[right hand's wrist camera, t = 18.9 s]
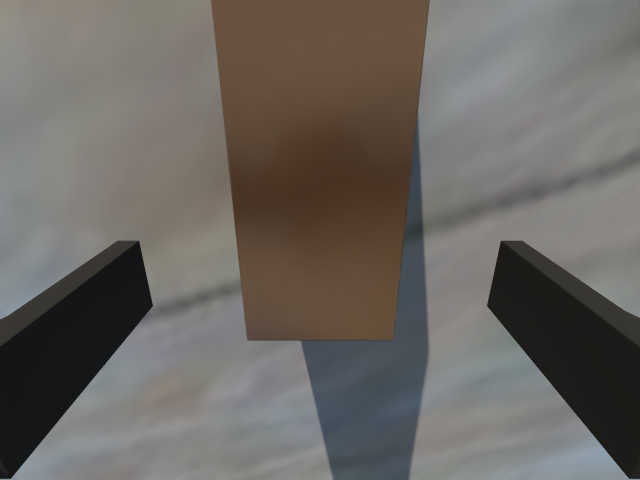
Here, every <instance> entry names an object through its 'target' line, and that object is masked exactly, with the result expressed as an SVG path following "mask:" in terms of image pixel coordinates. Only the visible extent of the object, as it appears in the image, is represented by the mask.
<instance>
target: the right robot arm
mask: <svg viewBox="0 0 640 480" xmlns="http://www.w3.org/2000/svg"><path fill="white" fill-rule="evenodd" d="M152 306H153V304H152V299H151V295H150V290H149V285H148V281H147V276H146V271H145V267H144V262H143V257H142V253H141V248H140V243H139V241H117V242H115V243H114V244H112V245H111V246H110V247H108V248H107V249H105V250H104V251H102V252H101V253H99V254H98V255H96V256H95V257H93V258H92V259H91V260H89V261H88V262H86V263H85V264H83V265H82V266H80V267H79V268H77V269H76V270H74V271H73V272H72V273H70V274H69V275H67V276H66V277H64V278H63V279H61V280H60V281H58V282H57V283H55V284H54V285H52V286H51V287H50V288H48V289H47V290H45V291H44V292H42V293H41V294H39V295H38V296H36V297H35V298H33V299H32V300H31V301H29V302H28V303H26V304H25V305H23V306H22V307H20V308H19V309H17V310H16V311H14V312H13V313H12V314H10V315H9V316H7V317H5V318H2V319H0V479H11V478H12V477H13V475H14V474H15V473H16V472H17V471H18V469H19V468H20V467H21V466H22V464H23V463H24V462H25V461H26V460H27V458H28V457H29V456H30V455H31V454H32V452H33V451H34V450H35V449H36V447H37V446H38V445H39V444H40V443H41V441H42V440H43V439H44V438H45V436H46V435H47V434H48V433H49V432H50V430H51V429H52V428H53V427H54V426H55V424H56V423H57V422H58V421H59V419H60V418H61V417H62V416H63V415H64V413H65V412H66V411H67V410H68V409H69V407H70V406H71V405H72V404H73V402H74V401H75V400H76V399H77V398H78V396H79V395H80V394H81V393H82V391H83V390H84V389H85V388H86V387H87V385H88V384H89V383H90V382H91V381H92V379H93V378H94V377H95V376H96V374H97V373H98V372H99V371H100V370H101V368H102V367H103V366H104V365H105V364H106V362H107V361H108V360H109V359H110V357H111V356H112V355H113V354H114V353H115V351H116V350H117V349H118V348H119V347H120V345H121V344H122V343H123V342H124V340H125V339H126V338H127V337H128V336H129V334H130V333H131V332H132V331H133V329H134V328H135V327H136V326H137V325H138V323H139V322H140V321H141V320H142V319H143V317H144V316H145V315H146V314H147V312H148V311H149V310H150V309H151V308H152ZM487 306H488V308H489V309H490V310H491V311H492V312H493V314H494V315H495V316H496V317H497V319H498V320H499V321H500V322H501V323H502V325H503V326H504V327H505V328H506V329H507V331H508V332H509V333H510V334H511V336H512V337H513V338H514V339H515V340H516V342H517V343H518V344H519V345H520V347H521V348H522V349H523V350H524V351H525V353H526V354H527V355H528V356H529V357H530V359H531V360H532V361H533V362H534V364H535V365H536V366H537V367H538V368H539V370H540V371H541V372H542V373H543V374H544V376H545V377H546V378H547V379H548V381H549V382H550V383H551V384H552V385H553V387H554V388H555V389H556V390H557V391H558V393H559V394H560V395H561V396H562V398H563V399H564V400H565V401H566V402H567V404H568V405H569V406H570V407H571V409H572V410H573V411H574V412H575V413H576V415H577V416H578V417H579V418H580V419H581V421H582V422H583V423H584V424H585V426H586V427H587V428H588V429H589V430H590V432H591V433H592V434H593V435H594V436H595V438H596V439H597V440H598V441H599V443H600V444H601V445H602V446H603V447H604V449H605V450H606V451H607V452H608V454H609V455H610V456H611V457H612V458H613V460H614V461H615V462H616V463H617V464H618V466H619V467H620V468H621V469H622V471H623V472H624V473H625V474H626V475H627V477H628V478H629V479H640V318H639V317H637V316H634V315H632V314H630V313H628V312H626V311H624V310H623V309H621V308H620V307H618V306H617V305H615V304H614V303H612V302H611V301H609V300H608V299H607V298H605V297H604V296H602V295H601V294H599V293H598V292H596V291H595V290H593V289H592V288H590V287H589V286H588V285H586V284H585V283H583V282H582V281H580V280H579V279H577V278H576V277H574V276H573V275H571V274H570V273H568V272H567V271H566V270H564V269H563V268H561V267H560V266H558V265H557V264H555V263H554V262H552V261H551V260H549V259H548V258H547V257H545V256H544V255H542V254H541V253H539V252H538V251H536V250H535V249H533V248H532V247H530V246H529V245H528V244H526V243H525V242H523V241H501V243H500V248H499V253H498V257H497V262H496V267H495V271H494V276H493V281H492V285H491V290H490V295H489V299H488V304H487Z"/></svg>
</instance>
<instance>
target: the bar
mask: <svg viewBox="0 0 640 480" xmlns="http://www.w3.org/2000/svg"><path fill="white" fill-rule="evenodd" d="M429 1H430V0H211V3H212V13H213V22H214V32H215V41H216V50H217V60H218V69H219V79H220V88H221V98H222V107H223V117H224V126H225V135H226V145H227V154H228V164H229V173H230V183H231V192H232V202H233V211H234V221H235V230H236V239H237V249H238V258H239V268H240V277H241V287H242V296H243V306H244V315H245V325H246V334H247V339H248V340H393V338H394V330H395V321H396V311H397V302H398V293H399V283H400V274H401V264H402V255H403V245H404V236H405V227H406V217H407V208H408V198H409V189H410V180H411V170H412V161H413V151H414V142H415V133H416V123H417V114H418V104H419V95H420V86H421V76H422V67H423V57H424V48H425V39H426V29H427V20H428V10H429Z"/></svg>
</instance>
